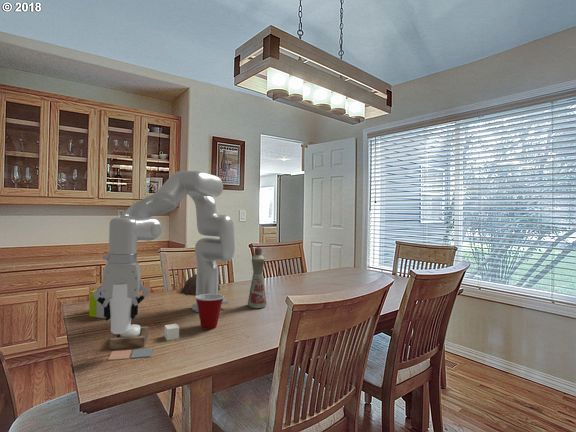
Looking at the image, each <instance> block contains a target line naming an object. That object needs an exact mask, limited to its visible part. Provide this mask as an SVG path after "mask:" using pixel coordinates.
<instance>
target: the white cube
mask: <svg viewBox="0 0 576 432" xmlns="http://www.w3.org/2000/svg"><path fill="white" fill-rule="evenodd" d="M164 338H165V340H166V341H167V342H168V341H173V340H179V339H180V327H179V325H178V323H172V324H165V325H164Z"/></svg>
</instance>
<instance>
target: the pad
mask: <svg viewBox="0 0 576 432" xmlns="http://www.w3.org/2000/svg"><path fill="white" fill-rule="evenodd" d="M132 352H133V350H132V349H127V350H126V349H125V350H112V351H111V353H110V355H109V357H108V358H107V361H117V360H119V361H120V360H129V358H130V357H131V355H132Z"/></svg>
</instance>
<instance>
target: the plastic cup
mask: <svg viewBox="0 0 576 432" xmlns="http://www.w3.org/2000/svg"><path fill="white" fill-rule="evenodd" d="M224 298H225V295H223V294H220V293H219V294H202V295H198V296H195V301H196V300H197V304H198V310H199V312H198V314H199V315H198V316H199V321H200V327H201V329H202V330H213V329H215V328H217V326H218V321H219V317H220V313H221V308H222V305H223V304H222V301H223V299H224Z"/></svg>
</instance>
